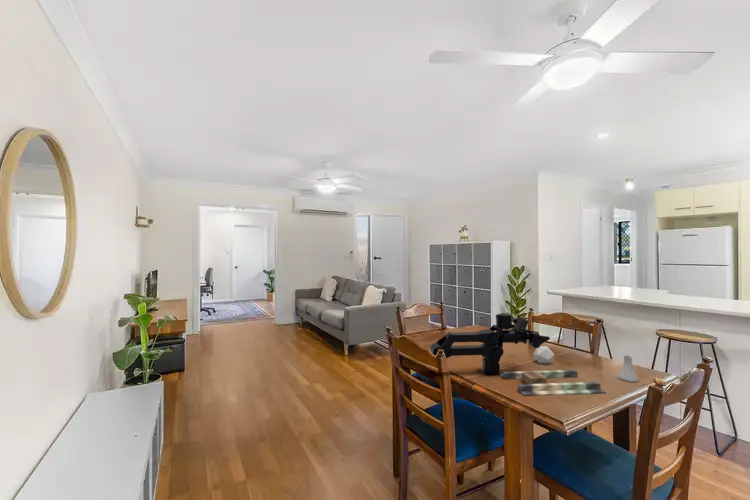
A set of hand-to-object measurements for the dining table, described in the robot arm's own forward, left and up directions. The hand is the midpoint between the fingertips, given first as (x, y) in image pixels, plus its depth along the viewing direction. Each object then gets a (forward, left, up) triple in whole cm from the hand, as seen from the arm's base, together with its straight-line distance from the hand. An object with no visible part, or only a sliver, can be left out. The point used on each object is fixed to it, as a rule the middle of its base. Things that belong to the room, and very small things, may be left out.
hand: (543, 335), depth 158 cm
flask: (+31, -12, -17) cm, 37 cm away
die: (+7, +12, -17) cm, 22 cm away
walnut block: (-12, -14, -17) cm, 25 cm away
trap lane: (-6, -14, -16) cm, 22 cm away
